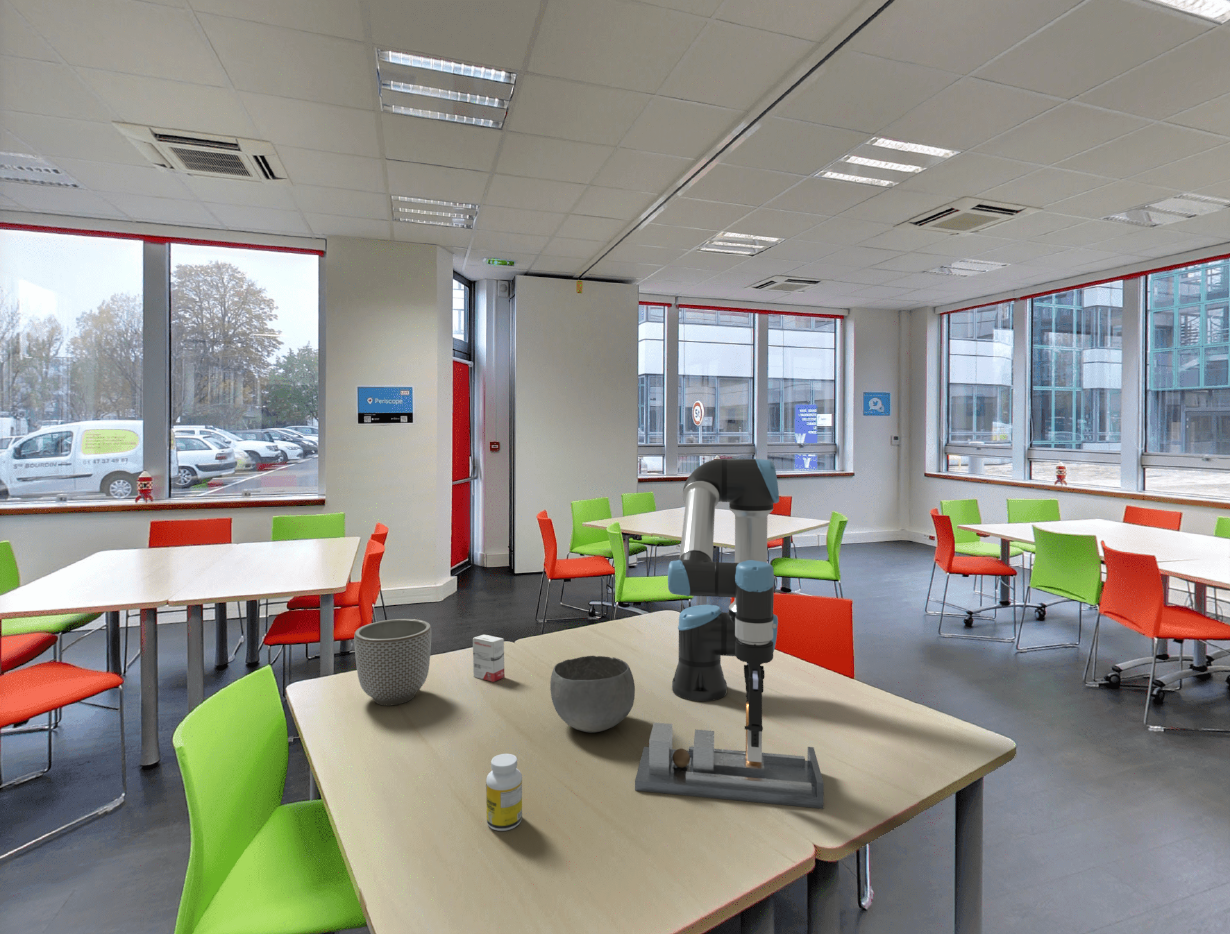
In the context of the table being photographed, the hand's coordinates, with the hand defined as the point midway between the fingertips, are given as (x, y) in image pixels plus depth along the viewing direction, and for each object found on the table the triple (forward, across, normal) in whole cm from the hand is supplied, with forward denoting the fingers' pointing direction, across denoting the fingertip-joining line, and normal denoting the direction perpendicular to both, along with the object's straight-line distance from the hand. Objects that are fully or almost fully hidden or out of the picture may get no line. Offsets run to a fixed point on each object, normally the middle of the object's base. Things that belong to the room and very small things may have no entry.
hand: (753, 748), depth 127 cm
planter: (+7, +26, +94) cm, 98 cm away
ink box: (+7, +45, +75) cm, 87 cm away
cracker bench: (+7, 0, +5) cm, 9 cm away
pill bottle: (+7, -21, +45) cm, 51 cm away
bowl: (+7, +19, +38) cm, 43 cm away
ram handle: (+5, 0, +5) cm, 7 cm away
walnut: (+5, 0, +15) cm, 15 cm away
